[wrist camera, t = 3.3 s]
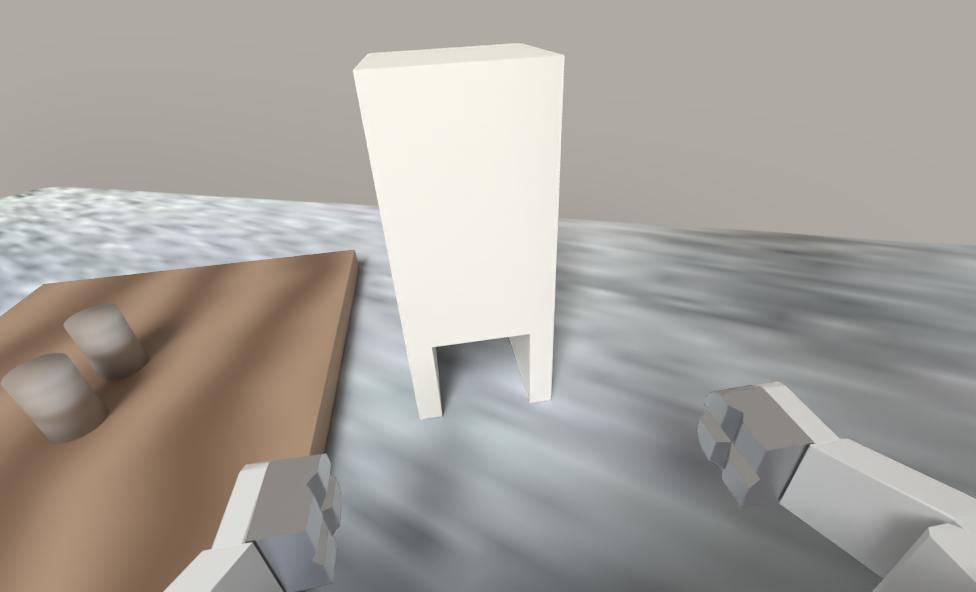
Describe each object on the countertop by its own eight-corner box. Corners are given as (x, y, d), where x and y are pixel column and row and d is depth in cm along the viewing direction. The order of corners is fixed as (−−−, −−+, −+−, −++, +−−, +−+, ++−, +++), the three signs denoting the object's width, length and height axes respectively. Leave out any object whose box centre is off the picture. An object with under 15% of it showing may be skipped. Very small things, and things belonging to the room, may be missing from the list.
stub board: (359, 268, 32) (345, 209, 30) (278, 698, 12) (214, 624, 10) (56, 303, 30) (14, 242, 27) (-650, 890, 10) (-1034, 858, 7)
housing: (522, 323, 25) (520, 43, 18) (550, 400, 20) (564, 55, 13) (417, 337, 25) (368, 53, 17) (419, 419, 20) (352, 70, 12)
